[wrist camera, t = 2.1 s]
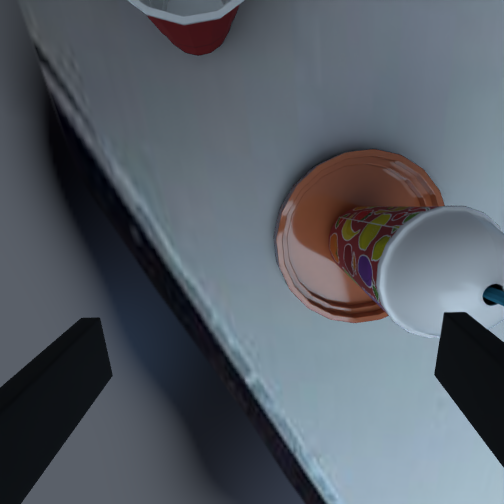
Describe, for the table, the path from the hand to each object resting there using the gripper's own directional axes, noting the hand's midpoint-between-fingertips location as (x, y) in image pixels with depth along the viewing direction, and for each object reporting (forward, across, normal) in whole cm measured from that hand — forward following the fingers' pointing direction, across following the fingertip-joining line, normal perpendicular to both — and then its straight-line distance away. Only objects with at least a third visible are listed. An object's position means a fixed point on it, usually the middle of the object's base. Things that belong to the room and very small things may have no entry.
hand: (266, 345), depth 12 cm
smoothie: (+22, +9, -2) cm, 23 cm away
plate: (+22, +9, -2) cm, 23 cm away
